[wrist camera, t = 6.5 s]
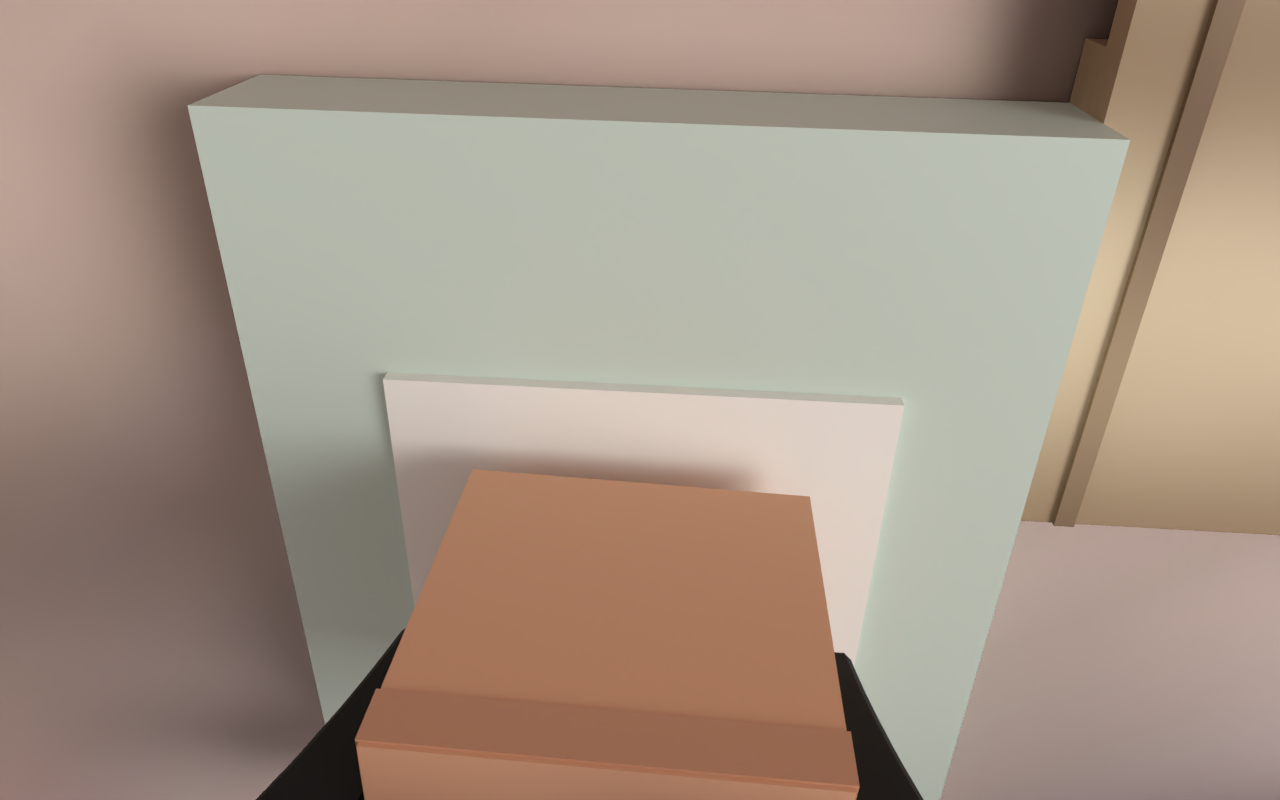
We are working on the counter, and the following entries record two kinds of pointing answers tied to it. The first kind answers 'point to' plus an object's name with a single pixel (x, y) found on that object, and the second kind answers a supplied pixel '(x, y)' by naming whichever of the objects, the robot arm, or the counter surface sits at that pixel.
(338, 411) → the dock
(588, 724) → the orange block
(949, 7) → the counter surface
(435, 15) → the counter surface
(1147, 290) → the pallet
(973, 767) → the counter surface
